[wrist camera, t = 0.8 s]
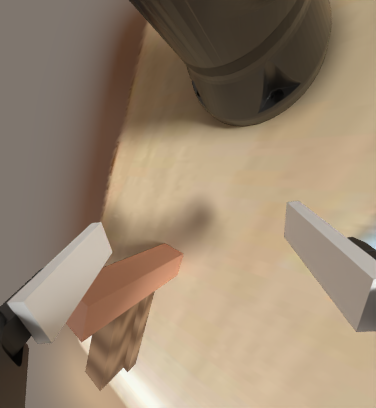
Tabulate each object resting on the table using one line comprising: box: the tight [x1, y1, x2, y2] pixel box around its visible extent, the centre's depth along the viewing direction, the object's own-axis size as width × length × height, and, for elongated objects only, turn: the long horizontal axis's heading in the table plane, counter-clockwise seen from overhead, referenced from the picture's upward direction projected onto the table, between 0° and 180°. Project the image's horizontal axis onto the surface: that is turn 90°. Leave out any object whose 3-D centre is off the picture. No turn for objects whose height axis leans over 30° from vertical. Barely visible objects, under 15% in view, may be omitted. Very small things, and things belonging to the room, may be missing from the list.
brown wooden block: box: [85, 292, 154, 391], centre depth 34 cm, size 18×7×7 cm, turn 162°
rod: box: [66, 243, 183, 342], centre depth 24 cm, size 4×4×16 cm
